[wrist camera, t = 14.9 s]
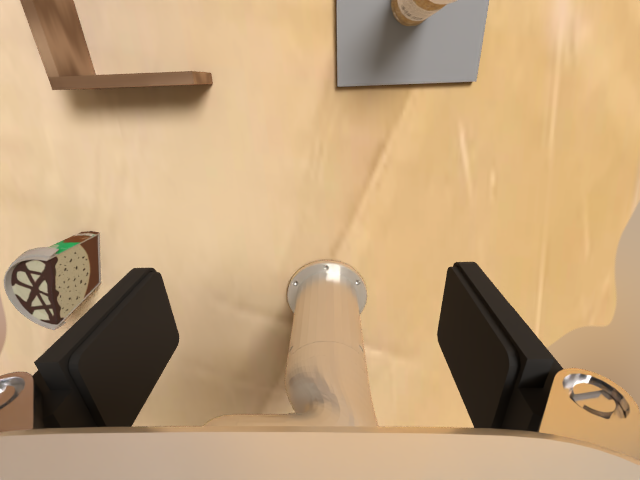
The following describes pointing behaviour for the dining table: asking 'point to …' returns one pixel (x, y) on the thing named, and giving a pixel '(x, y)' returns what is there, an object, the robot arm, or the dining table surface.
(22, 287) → the food container
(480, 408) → the robot arm
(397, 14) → the spice jar
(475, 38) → the slate mat
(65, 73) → the shelf box
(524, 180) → the dining table surface
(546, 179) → the dining table surface
